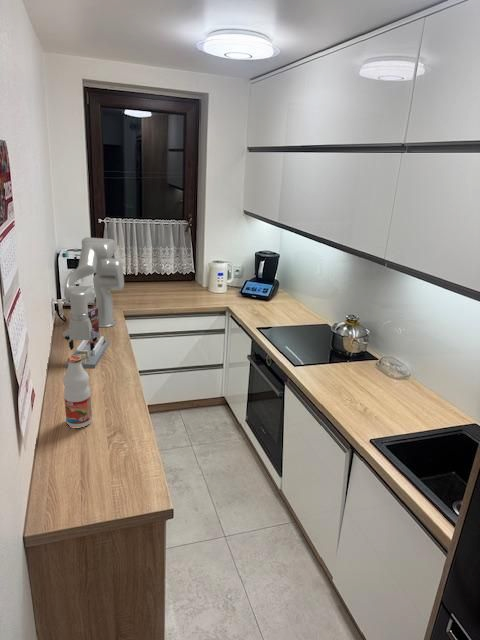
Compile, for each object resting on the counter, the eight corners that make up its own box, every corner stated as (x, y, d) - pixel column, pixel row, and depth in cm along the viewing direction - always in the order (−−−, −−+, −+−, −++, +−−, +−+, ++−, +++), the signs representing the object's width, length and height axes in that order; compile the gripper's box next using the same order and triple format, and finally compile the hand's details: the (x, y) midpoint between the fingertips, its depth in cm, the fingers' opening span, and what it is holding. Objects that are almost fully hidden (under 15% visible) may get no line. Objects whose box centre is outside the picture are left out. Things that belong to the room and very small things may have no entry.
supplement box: (92, 339, 246) (90, 312, 240) (84, 337, 246) (82, 311, 241) (99, 333, 254) (98, 307, 248) (92, 332, 254) (90, 306, 249)
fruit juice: (97, 419, 173) (93, 355, 164) (80, 432, 165) (75, 365, 155) (78, 413, 176) (73, 350, 167) (61, 425, 168) (54, 359, 158)
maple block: (79, 358, 218) (79, 349, 217) (88, 358, 218) (88, 350, 217) (76, 363, 212) (75, 355, 211) (85, 363, 213) (84, 355, 211)
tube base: (84, 341, 241) (83, 333, 240) (109, 342, 242) (109, 334, 241) (65, 367, 212) (64, 357, 211) (95, 368, 213) (94, 358, 212)
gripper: (58, 318, 205) (61, 351, 210) (96, 319, 206) (98, 352, 211) (64, 312, 212) (66, 345, 217) (100, 314, 213) (102, 346, 219)
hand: (82, 349), depth 214 cm, fingers open, 9 cm apart
